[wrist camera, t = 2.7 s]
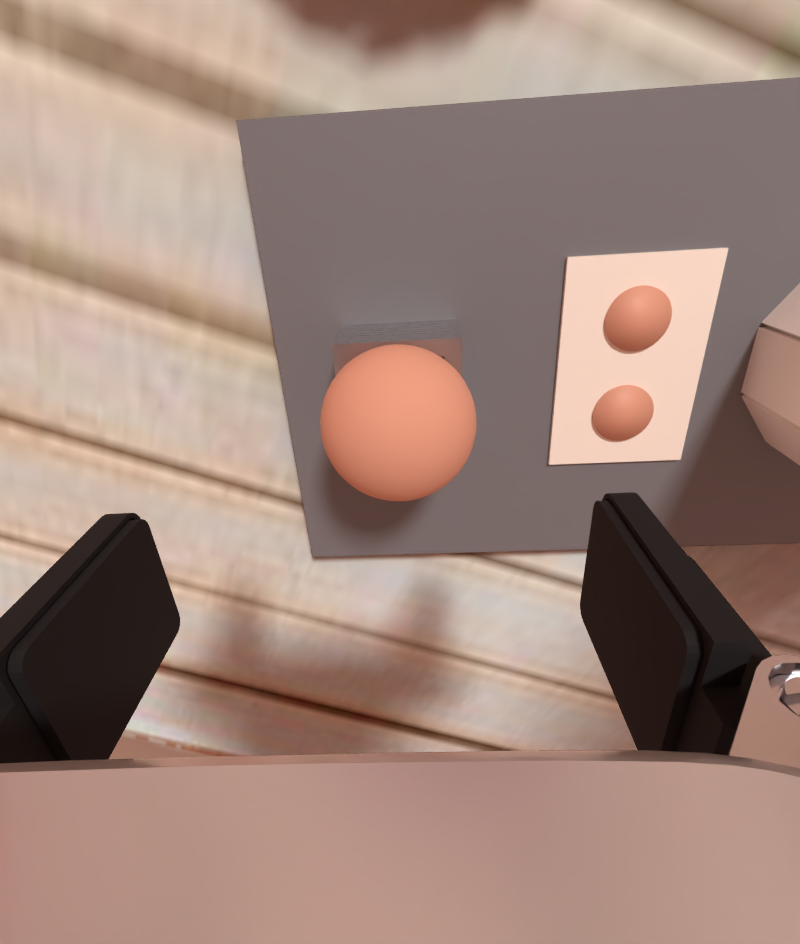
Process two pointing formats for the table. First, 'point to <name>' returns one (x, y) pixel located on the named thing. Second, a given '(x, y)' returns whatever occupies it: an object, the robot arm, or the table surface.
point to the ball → (398, 422)
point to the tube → (777, 377)
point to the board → (545, 302)
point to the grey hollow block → (399, 339)
